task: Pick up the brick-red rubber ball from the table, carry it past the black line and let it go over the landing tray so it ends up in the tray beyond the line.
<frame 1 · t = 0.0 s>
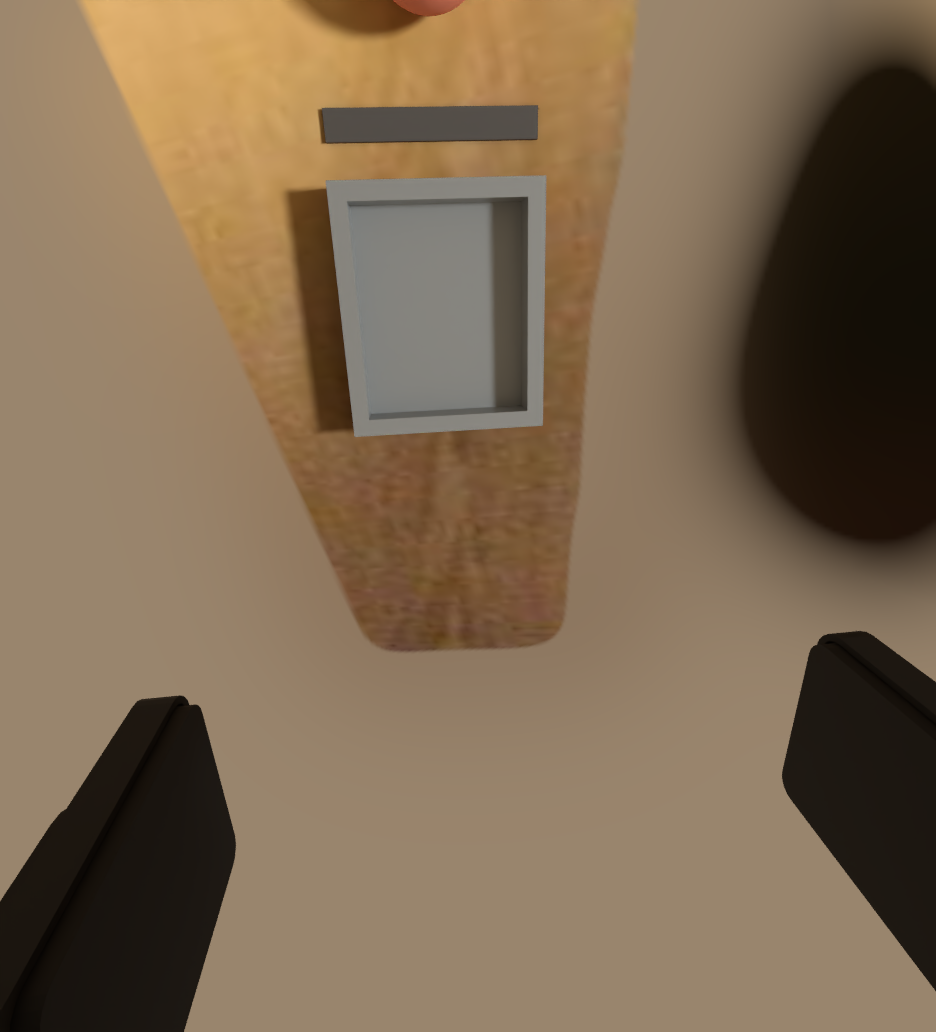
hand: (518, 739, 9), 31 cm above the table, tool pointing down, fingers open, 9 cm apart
landing tray: (441, 312, 36), on the table
throw line: (432, 124, 32), on the table
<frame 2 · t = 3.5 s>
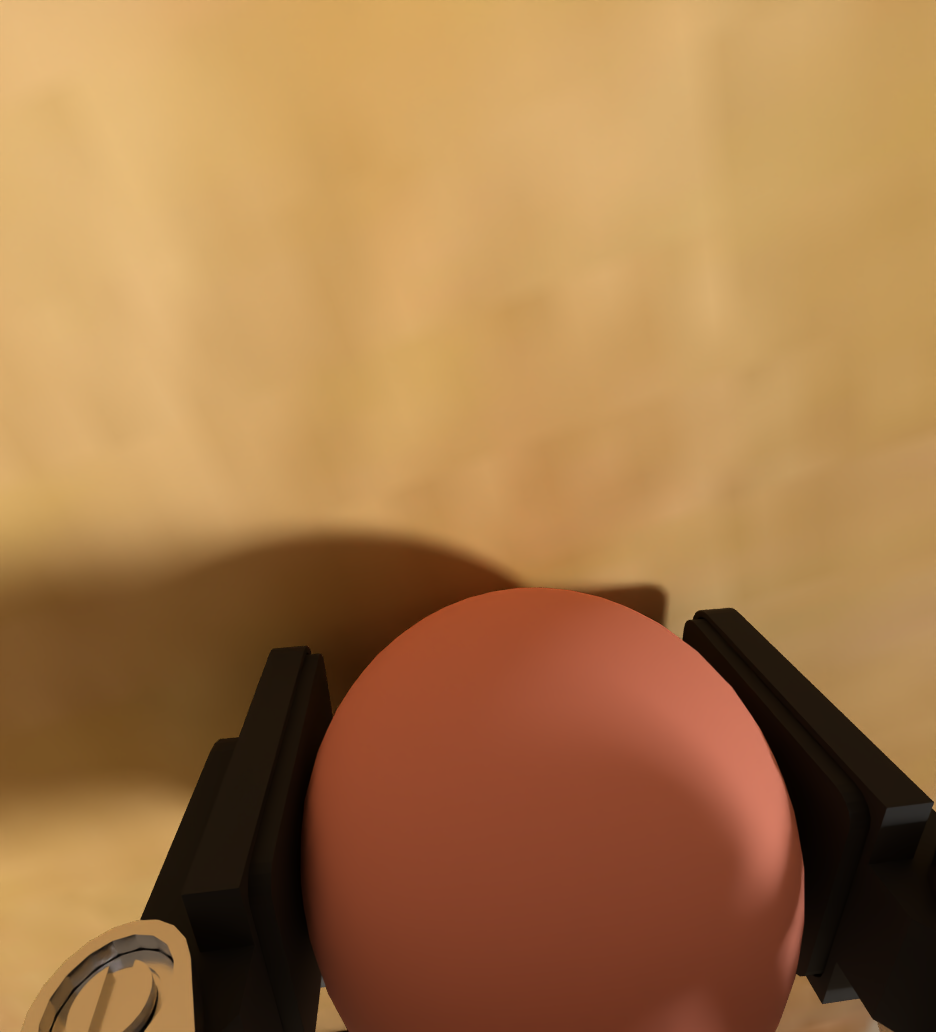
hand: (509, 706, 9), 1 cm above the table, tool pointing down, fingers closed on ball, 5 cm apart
ball: (538, 818, 7), point 3 cm above the table, touching gripper
when the fingers open (3 cm above the table, at t = 9.0 s): ball drops 2 cm, resting on landing tray.
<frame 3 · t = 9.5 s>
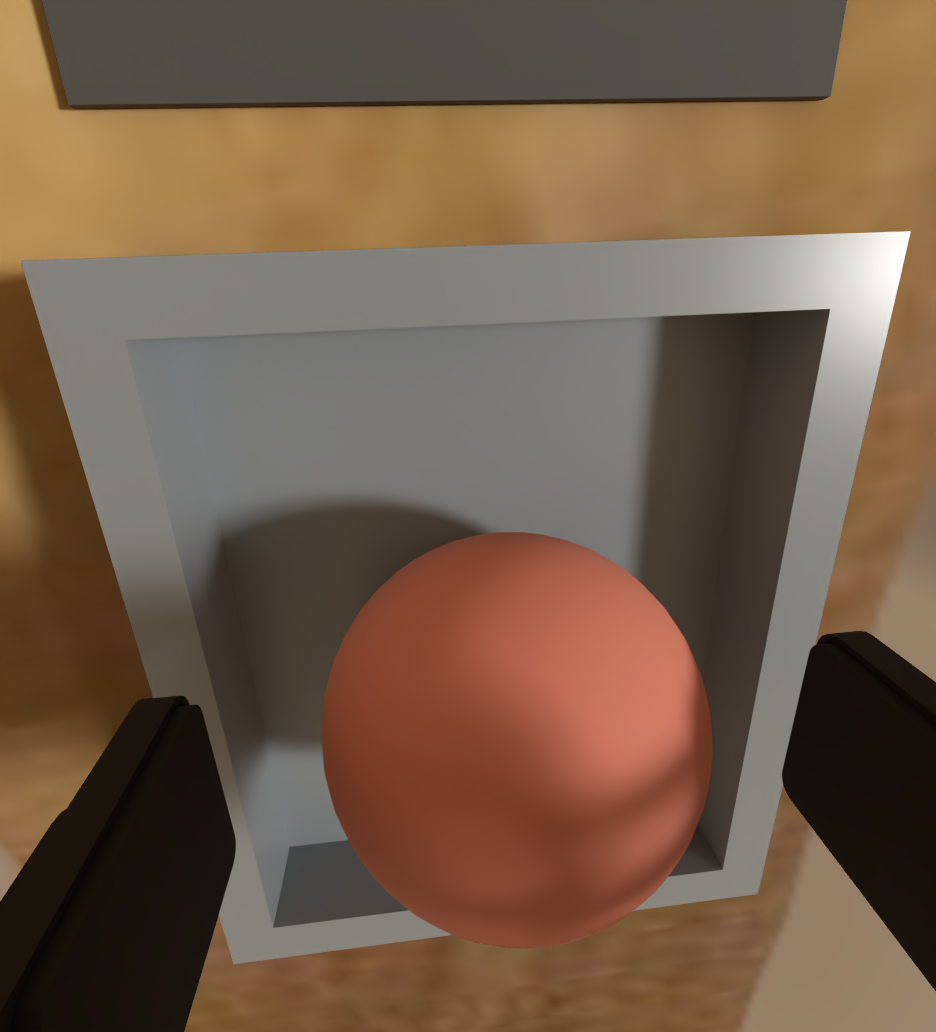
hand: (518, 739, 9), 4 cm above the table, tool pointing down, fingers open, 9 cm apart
ball: (511, 716, 9), point 4 cm above the table, touching landing tray
landing tray: (483, 603, 13), on the table
throw line: (467, 42, 9), on the table
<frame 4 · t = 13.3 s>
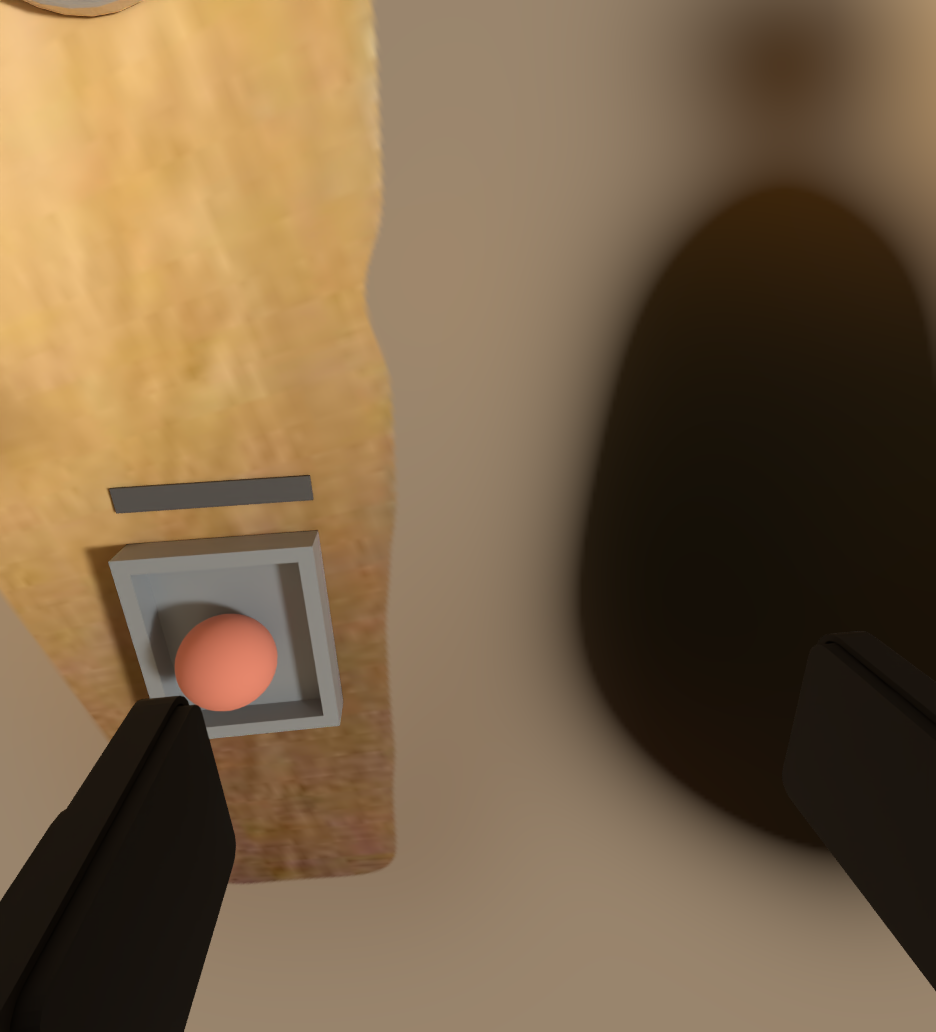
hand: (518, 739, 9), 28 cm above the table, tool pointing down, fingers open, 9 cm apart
ball: (227, 661, 36), point 4 cm above the table, touching landing tray
landing tray: (243, 629, 39), on the table
throw line: (214, 493, 36), on the table
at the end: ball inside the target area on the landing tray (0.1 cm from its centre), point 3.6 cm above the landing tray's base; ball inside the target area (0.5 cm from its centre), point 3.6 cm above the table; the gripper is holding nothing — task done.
